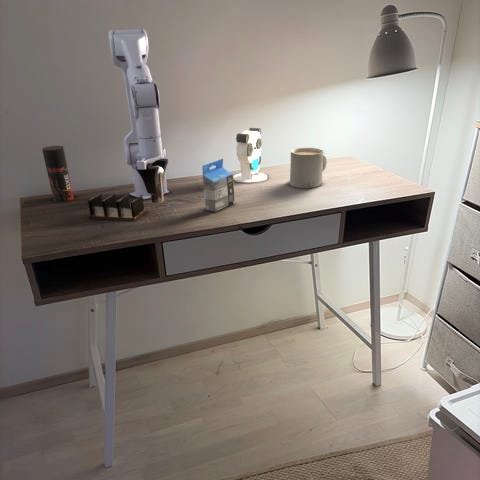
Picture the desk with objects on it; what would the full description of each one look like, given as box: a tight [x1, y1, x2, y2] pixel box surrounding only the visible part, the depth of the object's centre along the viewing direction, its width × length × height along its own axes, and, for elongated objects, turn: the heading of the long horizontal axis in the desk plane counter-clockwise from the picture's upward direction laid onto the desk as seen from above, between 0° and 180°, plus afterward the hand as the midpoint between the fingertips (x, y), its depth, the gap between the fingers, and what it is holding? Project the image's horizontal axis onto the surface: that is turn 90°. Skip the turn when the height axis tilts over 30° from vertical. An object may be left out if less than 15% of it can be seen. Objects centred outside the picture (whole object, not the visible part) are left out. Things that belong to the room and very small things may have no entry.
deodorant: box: [41, 145, 74, 203], centre depth 152 cm, size 6×6×15 cm
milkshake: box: [150, 166, 165, 204], centre depth 133 cm, size 4×5×10 cm
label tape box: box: [201, 158, 235, 213], centre depth 141 cm, size 9×4×12 cm, turn 143°
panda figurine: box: [233, 127, 268, 184], centre depth 165 cm, size 12×11×15 cm
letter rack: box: [87, 192, 146, 222], centre depth 139 cm, size 13×7×5 cm, turn 76°
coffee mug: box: [289, 147, 328, 189], centre depth 160 cm, size 13×10×10 cm
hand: (155, 190), depth 134 cm, fingers closed on milkshake, 4 cm apart
